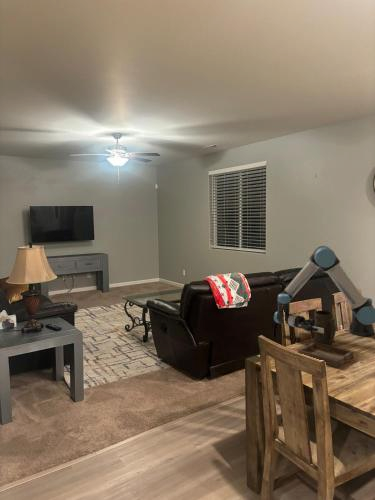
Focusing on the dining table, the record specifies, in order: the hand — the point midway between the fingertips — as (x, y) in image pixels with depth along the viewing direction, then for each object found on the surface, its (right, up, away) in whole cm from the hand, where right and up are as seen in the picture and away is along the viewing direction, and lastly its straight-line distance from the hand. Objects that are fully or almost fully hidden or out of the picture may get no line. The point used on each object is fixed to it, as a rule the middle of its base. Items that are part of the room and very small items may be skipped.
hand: (329, 328), depth 216 cm
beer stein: (-1, -11, +3) cm, 11 cm away
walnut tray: (-8, -13, -15) cm, 21 cm away
